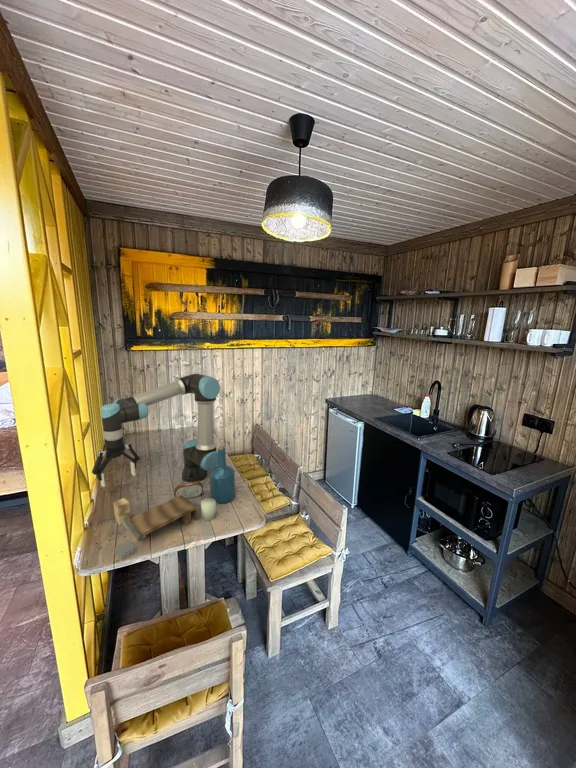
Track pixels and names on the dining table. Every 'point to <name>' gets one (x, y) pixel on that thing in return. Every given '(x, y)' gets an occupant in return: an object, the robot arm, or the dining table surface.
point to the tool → (125, 517)
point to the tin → (189, 489)
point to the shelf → (165, 515)
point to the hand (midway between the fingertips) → (118, 480)
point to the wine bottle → (222, 480)
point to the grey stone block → (125, 550)
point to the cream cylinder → (208, 509)
